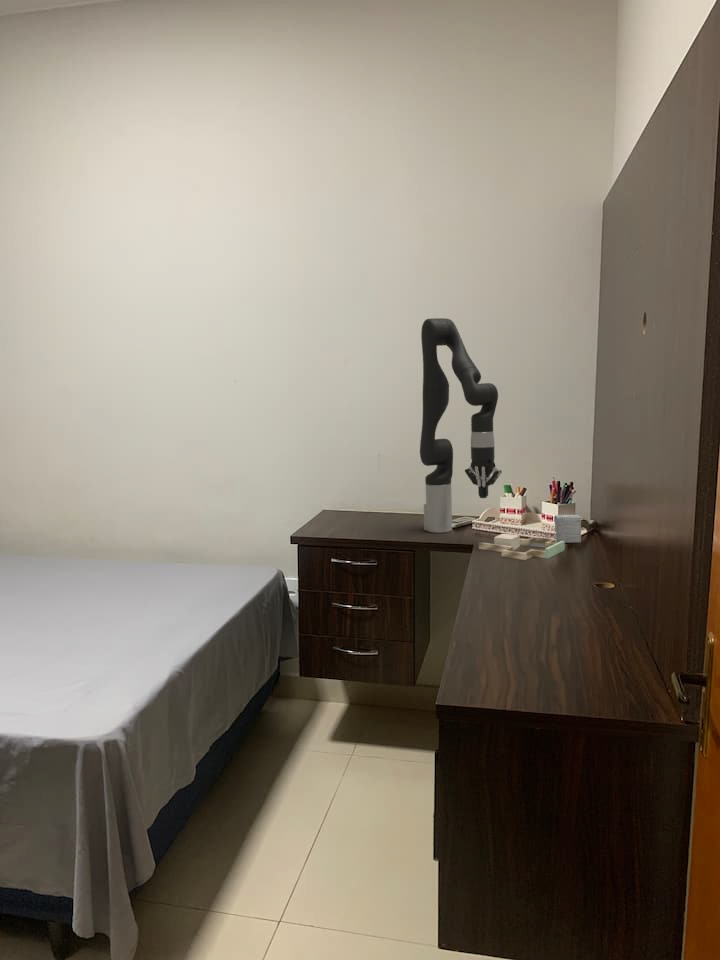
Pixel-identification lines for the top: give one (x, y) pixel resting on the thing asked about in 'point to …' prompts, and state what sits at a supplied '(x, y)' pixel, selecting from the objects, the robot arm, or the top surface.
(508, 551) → the trap track
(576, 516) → the medicine box
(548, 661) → the top surface
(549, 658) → the top surface
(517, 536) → the ivory block
